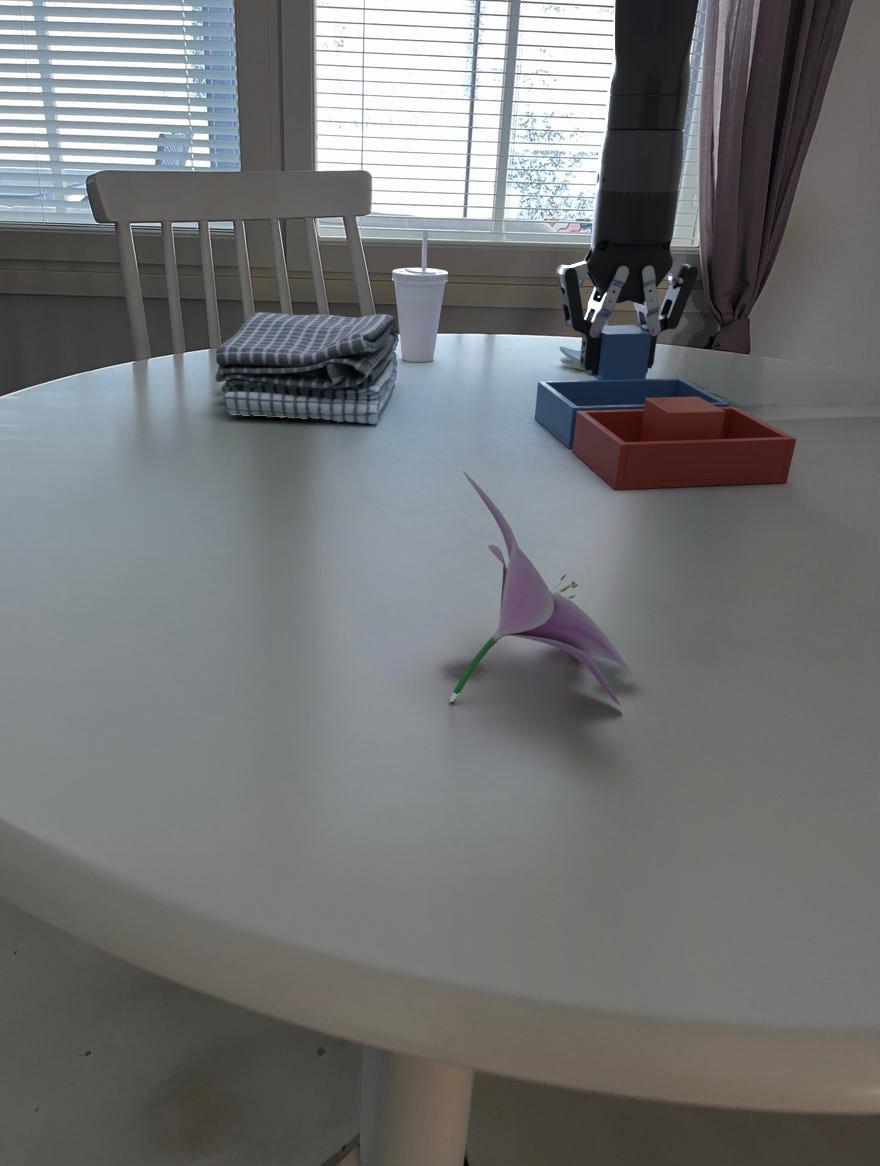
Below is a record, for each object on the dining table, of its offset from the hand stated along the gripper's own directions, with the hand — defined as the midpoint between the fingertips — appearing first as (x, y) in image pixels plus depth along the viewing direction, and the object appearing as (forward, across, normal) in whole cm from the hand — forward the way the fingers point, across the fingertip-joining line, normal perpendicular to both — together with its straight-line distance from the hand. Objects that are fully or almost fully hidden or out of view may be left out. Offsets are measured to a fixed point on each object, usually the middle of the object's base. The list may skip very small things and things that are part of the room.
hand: (615, 372), depth 94 cm
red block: (+2, -4, -22) cm, 23 cm away
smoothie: (+2, -16, +20) cm, 26 cm away
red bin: (+3, -3, -22) cm, 23 cm away
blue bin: (+3, -3, -12) cm, 12 cm away
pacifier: (+3, +2, +14) cm, 14 cm away
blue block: (0, 0, 0) cm, 0 cm away
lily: (+3, -25, -54) cm, 60 cm away
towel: (+2, -30, +2) cm, 31 cm away
